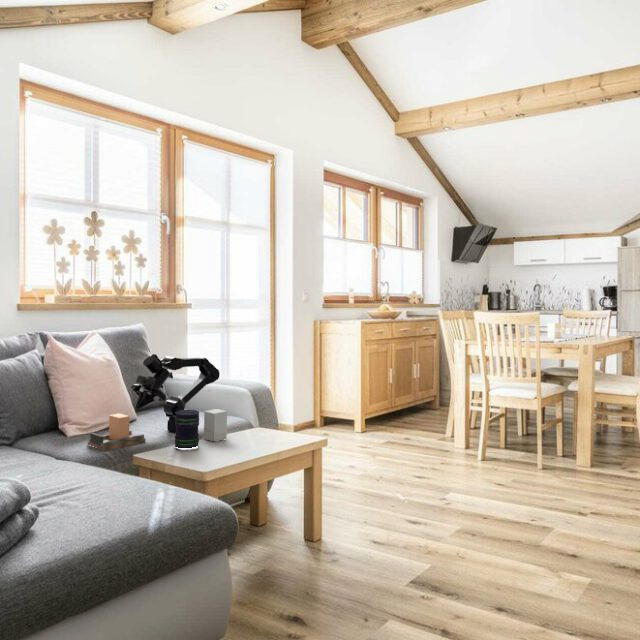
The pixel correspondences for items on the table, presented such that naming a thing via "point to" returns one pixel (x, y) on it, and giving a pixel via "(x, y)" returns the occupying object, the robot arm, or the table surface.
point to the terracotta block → (118, 426)
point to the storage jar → (186, 428)
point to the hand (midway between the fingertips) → (136, 408)
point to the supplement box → (215, 425)
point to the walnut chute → (114, 441)
